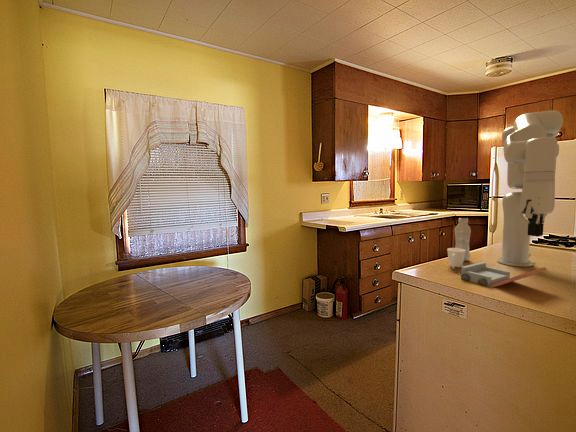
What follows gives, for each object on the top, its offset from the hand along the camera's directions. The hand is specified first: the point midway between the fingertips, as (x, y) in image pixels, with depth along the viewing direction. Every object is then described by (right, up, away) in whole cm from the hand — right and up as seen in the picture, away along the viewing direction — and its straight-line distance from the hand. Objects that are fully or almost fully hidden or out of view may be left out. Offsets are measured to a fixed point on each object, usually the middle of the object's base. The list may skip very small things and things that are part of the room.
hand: (535, 235), depth 95 cm
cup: (-9, -16, +30) cm, 36 cm away
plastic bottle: (+1, -15, +42) cm, 45 cm away
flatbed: (-6, -18, +15) cm, 24 cm away
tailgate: (-1, -15, +5) cm, 16 cm away
